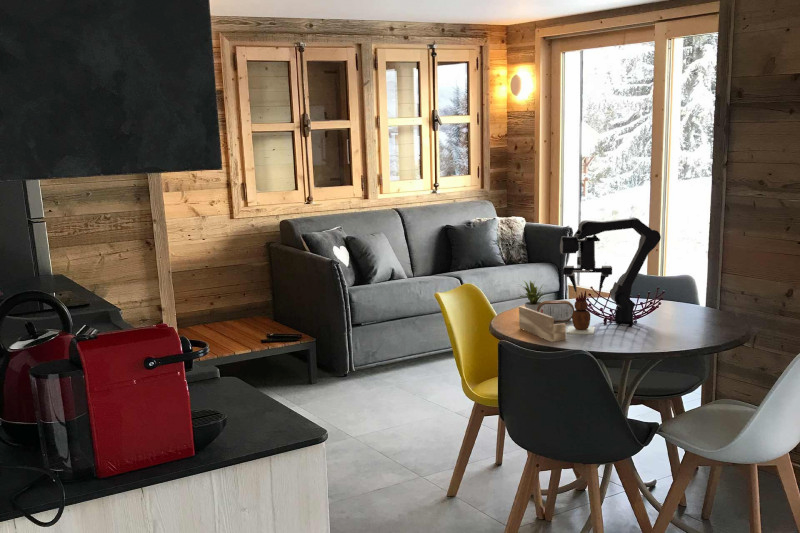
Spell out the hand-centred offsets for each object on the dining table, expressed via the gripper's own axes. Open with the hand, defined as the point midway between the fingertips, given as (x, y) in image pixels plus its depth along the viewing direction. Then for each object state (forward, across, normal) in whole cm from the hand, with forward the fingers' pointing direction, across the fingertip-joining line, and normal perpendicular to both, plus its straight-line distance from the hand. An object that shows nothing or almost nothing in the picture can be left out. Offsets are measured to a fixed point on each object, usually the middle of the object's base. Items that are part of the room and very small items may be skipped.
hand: (587, 291), depth 311 cm
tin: (+13, +13, -4) cm, 19 cm away
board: (+13, +2, +12) cm, 18 cm away
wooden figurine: (+13, +2, +12) cm, 17 cm away
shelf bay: (+13, +16, +18) cm, 28 cm away
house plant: (+13, +24, -10) cm, 29 cm away
